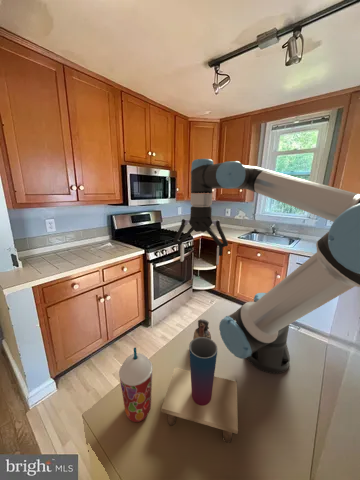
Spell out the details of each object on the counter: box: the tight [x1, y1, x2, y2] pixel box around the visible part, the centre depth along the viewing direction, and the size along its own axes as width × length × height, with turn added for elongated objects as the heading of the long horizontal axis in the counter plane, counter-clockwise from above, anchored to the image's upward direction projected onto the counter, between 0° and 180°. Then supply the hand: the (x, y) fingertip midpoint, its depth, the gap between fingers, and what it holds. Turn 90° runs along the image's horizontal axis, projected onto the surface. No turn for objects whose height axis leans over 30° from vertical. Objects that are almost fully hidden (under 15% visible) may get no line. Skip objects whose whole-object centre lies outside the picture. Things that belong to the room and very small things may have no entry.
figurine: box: [192, 318, 212, 340], centre depth 74 cm, size 7×7×12 cm
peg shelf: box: [160, 367, 239, 443], centre depth 52 cm, size 18×12×6 cm, turn 76°
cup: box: [188, 337, 218, 406], centre depth 50 cm, size 7×7×15 cm
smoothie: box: [118, 347, 153, 423], centre depth 51 cm, size 8×8×20 cm
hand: (199, 262), depth 76 cm, fingers open, 13 cm apart
